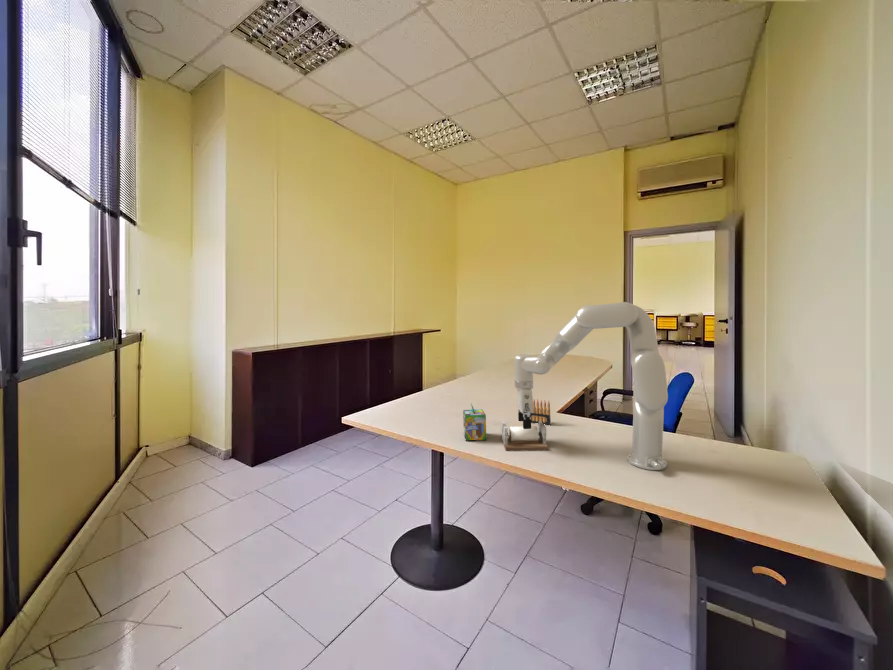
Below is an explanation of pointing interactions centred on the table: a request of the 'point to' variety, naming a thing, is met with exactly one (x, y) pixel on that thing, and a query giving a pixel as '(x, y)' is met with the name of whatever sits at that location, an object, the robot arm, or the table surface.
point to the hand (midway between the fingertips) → (524, 424)
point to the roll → (523, 434)
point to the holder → (525, 445)
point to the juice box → (474, 424)
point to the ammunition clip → (541, 413)
